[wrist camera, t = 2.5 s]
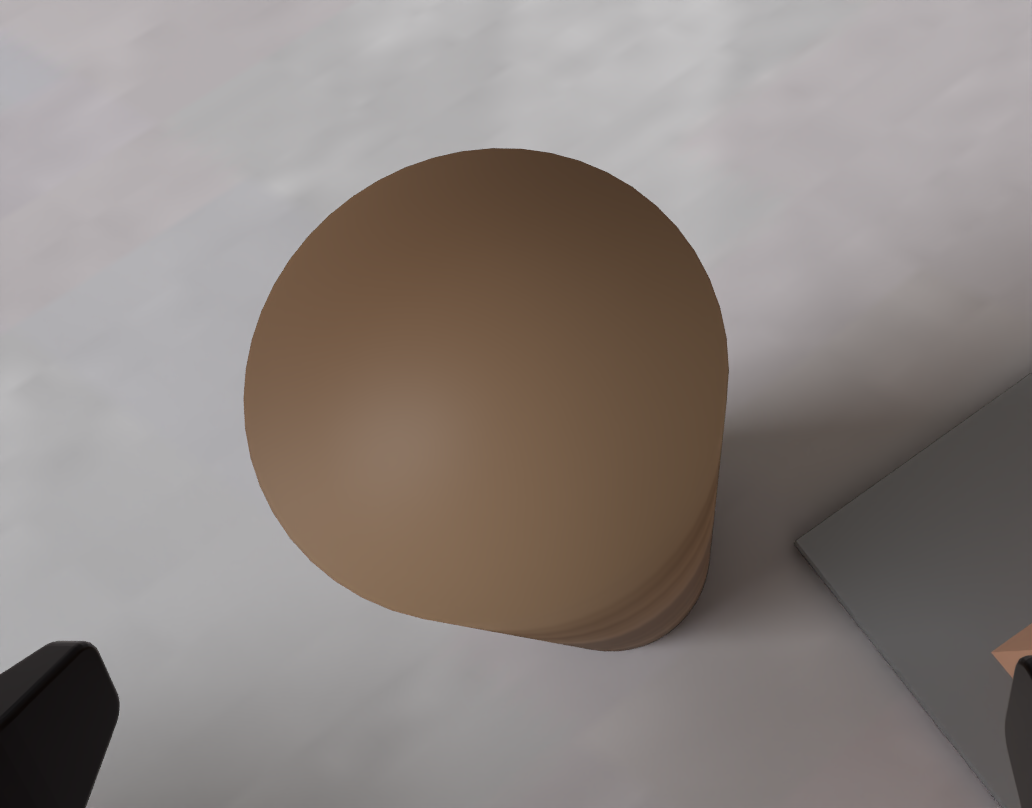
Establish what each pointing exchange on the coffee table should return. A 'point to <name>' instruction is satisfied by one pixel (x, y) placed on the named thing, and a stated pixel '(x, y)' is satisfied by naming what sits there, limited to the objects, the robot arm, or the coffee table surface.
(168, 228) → the coffee table surface
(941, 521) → the mat
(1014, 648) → the socket block
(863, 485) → the coffee table surface
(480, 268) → the walnut peg
